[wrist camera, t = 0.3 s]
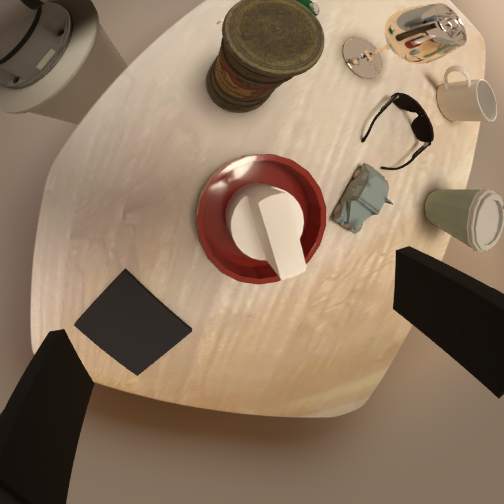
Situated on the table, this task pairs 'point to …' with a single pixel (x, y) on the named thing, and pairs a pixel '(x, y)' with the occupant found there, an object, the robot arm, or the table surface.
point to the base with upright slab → (267, 227)
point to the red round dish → (248, 172)
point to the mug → (466, 99)
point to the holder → (131, 324)
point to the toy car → (362, 198)
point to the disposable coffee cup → (467, 215)
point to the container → (262, 51)
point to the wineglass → (409, 39)
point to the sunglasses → (419, 125)
